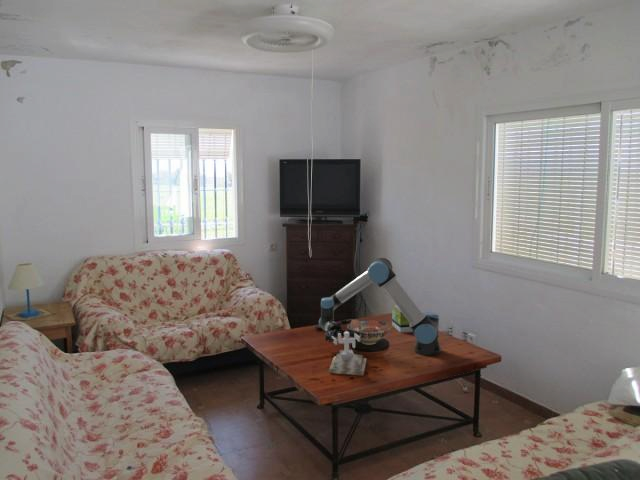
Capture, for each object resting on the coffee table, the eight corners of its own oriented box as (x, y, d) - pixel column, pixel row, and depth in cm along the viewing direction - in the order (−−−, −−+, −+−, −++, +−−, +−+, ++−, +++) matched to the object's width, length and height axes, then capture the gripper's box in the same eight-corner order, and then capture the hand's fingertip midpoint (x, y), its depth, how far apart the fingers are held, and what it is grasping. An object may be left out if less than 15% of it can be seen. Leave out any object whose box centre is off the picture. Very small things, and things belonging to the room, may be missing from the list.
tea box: (391, 326, 351) (391, 305, 349) (405, 325, 354) (405, 304, 352) (400, 333, 337) (400, 311, 335) (414, 331, 339) (414, 310, 337)
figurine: (356, 361, 275) (356, 334, 273) (338, 361, 274) (338, 334, 272) (354, 356, 282) (354, 329, 280) (337, 356, 281) (337, 330, 279)
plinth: (366, 362, 286) (366, 353, 286) (363, 375, 269) (363, 366, 268) (334, 360, 289) (334, 351, 289) (329, 373, 272) (329, 363, 271)
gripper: (353, 333, 301) (369, 344, 282) (312, 337, 293) (326, 350, 273) (353, 320, 300) (369, 331, 281) (312, 325, 292) (326, 336, 272)
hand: (348, 340), depth 277 cm, fingers open, 13 cm apart
